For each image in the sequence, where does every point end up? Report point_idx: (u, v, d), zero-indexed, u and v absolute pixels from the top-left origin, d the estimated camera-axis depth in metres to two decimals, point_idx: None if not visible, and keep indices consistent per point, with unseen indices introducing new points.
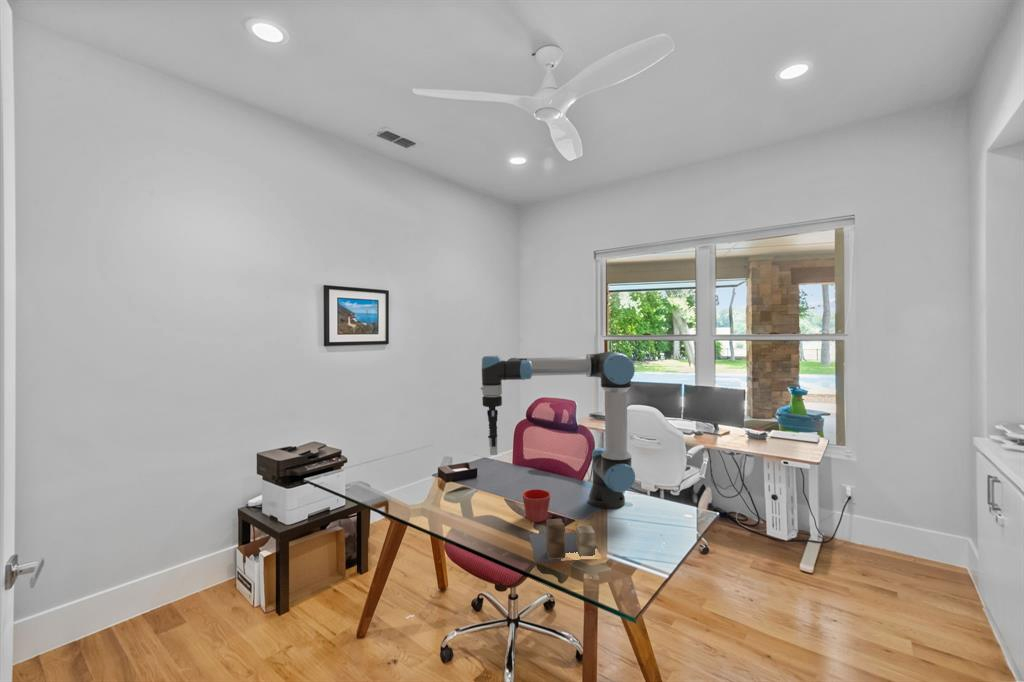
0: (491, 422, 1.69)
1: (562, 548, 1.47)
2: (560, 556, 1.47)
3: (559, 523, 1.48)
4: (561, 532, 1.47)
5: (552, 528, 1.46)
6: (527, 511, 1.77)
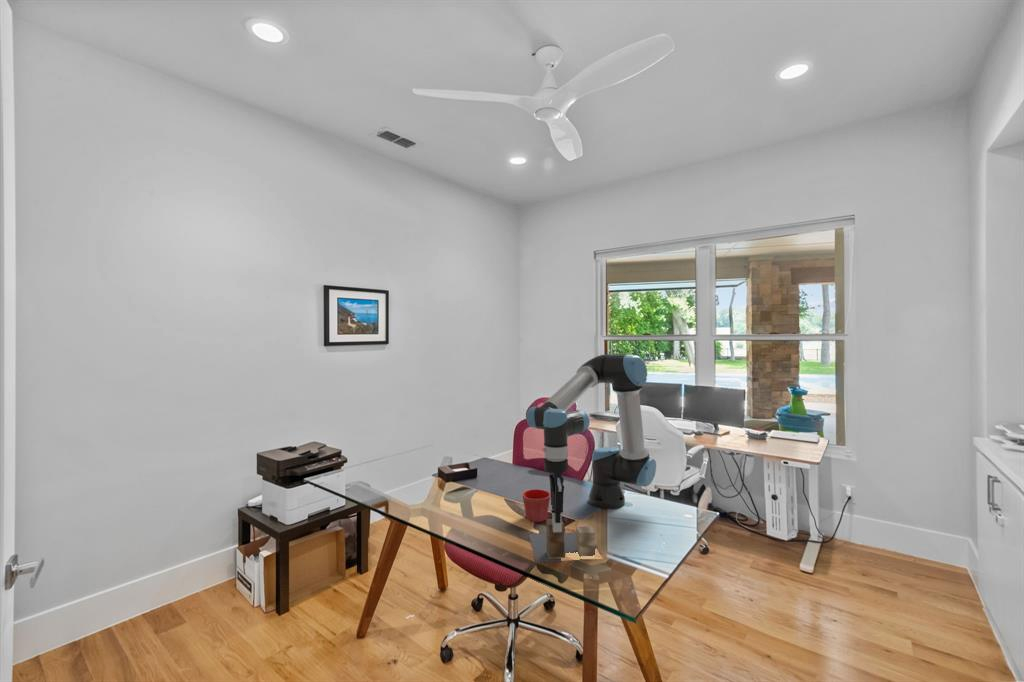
0: (557, 498, 1.41)
1: (562, 547, 1.47)
2: (560, 556, 1.47)
3: None
4: (561, 532, 1.47)
5: (552, 527, 1.47)
6: (527, 511, 1.77)
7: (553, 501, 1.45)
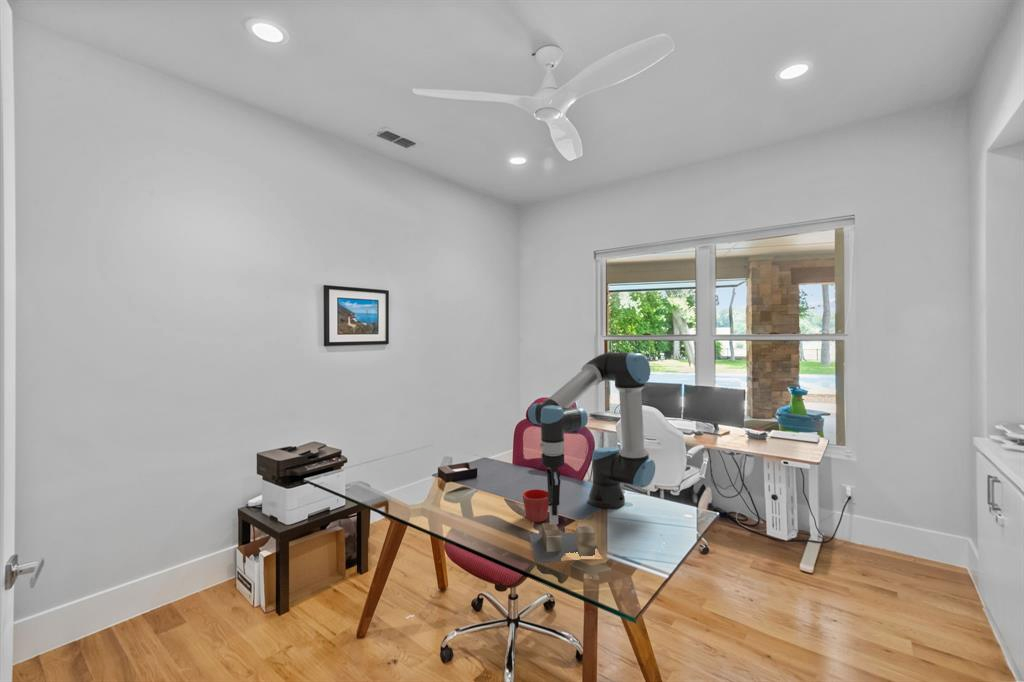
0: (553, 491, 1.47)
1: (557, 532, 1.55)
2: (557, 535, 1.53)
3: None
4: (554, 525, 1.60)
5: (545, 524, 1.62)
6: (527, 511, 1.77)
7: (550, 494, 1.51)
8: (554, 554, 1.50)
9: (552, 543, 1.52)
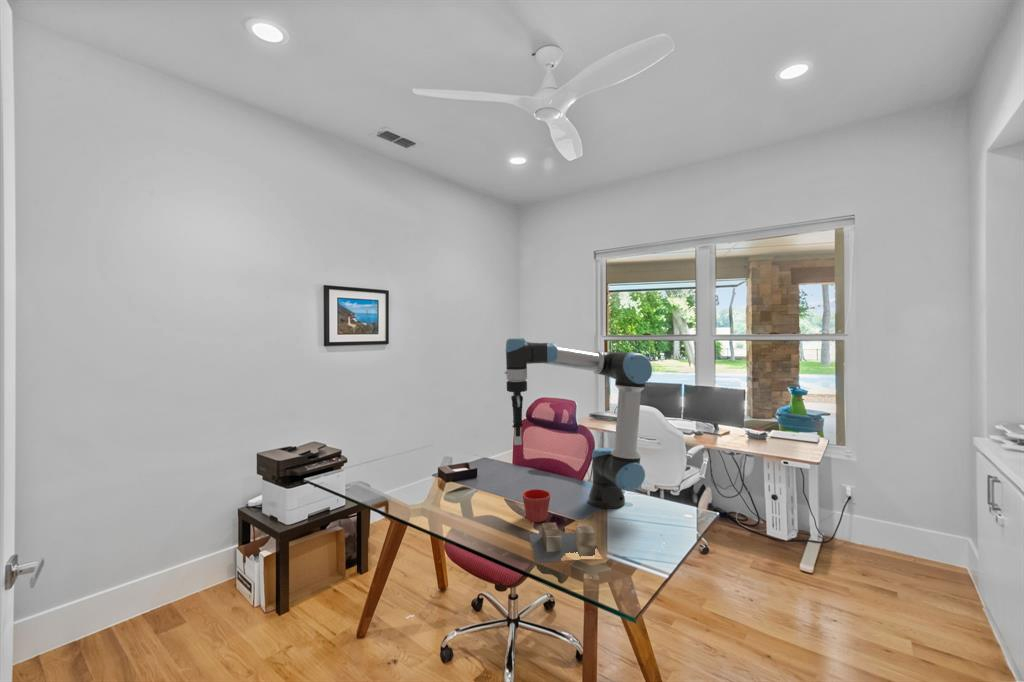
0: (516, 413, 1.63)
1: (557, 532, 1.55)
2: (557, 535, 1.53)
3: None
4: (554, 525, 1.60)
5: (545, 524, 1.62)
6: (527, 511, 1.77)
7: (514, 417, 1.66)
8: (554, 554, 1.50)
9: (552, 543, 1.52)
